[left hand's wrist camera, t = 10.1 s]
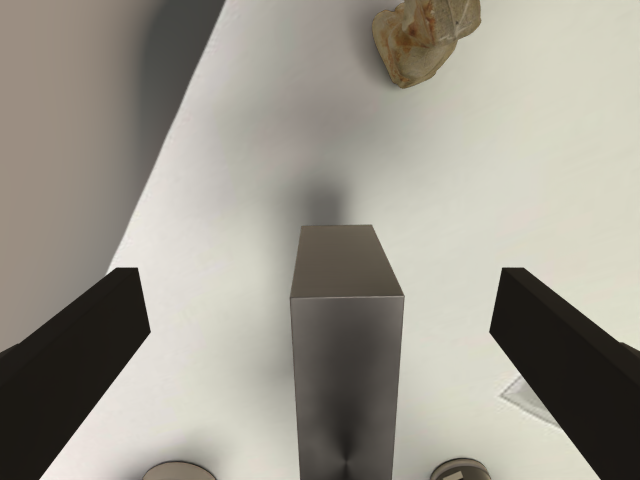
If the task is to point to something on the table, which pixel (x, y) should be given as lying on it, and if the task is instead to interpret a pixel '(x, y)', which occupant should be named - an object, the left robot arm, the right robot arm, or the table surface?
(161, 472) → the bust sculpture
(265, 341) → the table surface
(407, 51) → the sculpture
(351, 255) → the box
